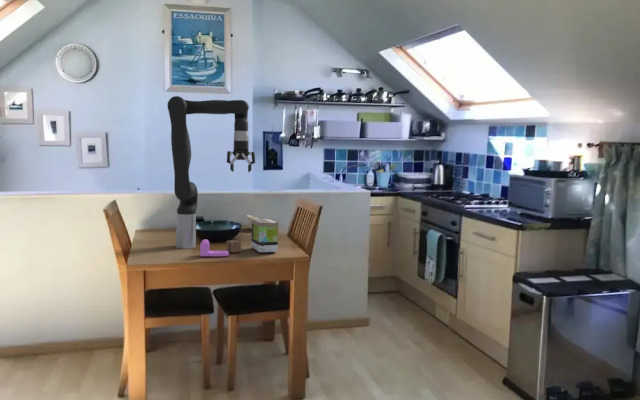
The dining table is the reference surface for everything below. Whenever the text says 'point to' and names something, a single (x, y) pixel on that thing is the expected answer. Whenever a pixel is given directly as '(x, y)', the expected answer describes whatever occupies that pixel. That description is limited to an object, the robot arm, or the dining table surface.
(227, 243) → the walnut block
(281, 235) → the dining table surface
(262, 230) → the tea box
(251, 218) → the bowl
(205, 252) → the bracket
